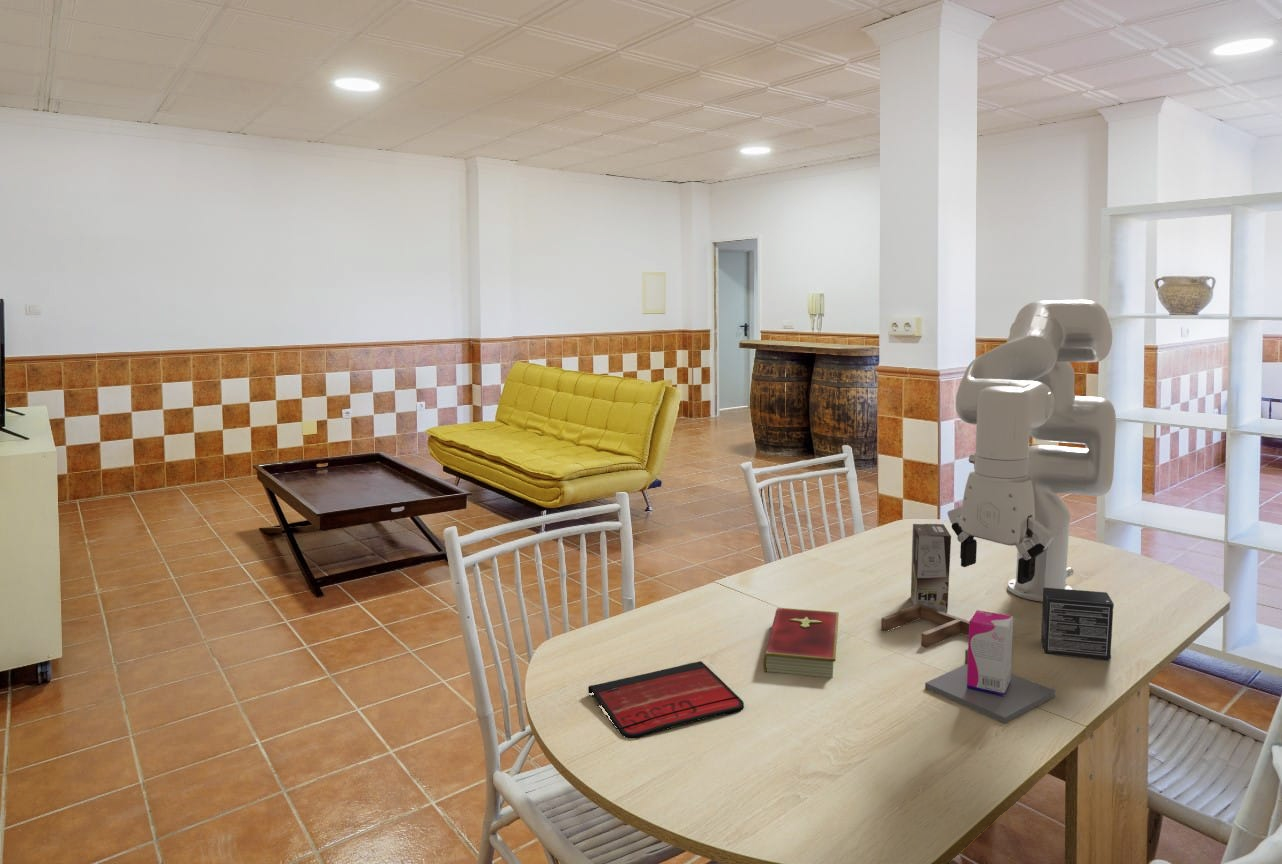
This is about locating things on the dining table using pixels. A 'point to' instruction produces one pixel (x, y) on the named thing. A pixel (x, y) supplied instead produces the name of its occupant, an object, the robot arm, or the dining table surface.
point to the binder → (665, 699)
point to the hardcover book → (802, 642)
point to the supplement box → (990, 652)
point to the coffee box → (930, 566)
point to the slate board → (991, 695)
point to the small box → (1077, 623)
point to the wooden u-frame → (946, 622)
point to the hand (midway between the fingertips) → (995, 573)
